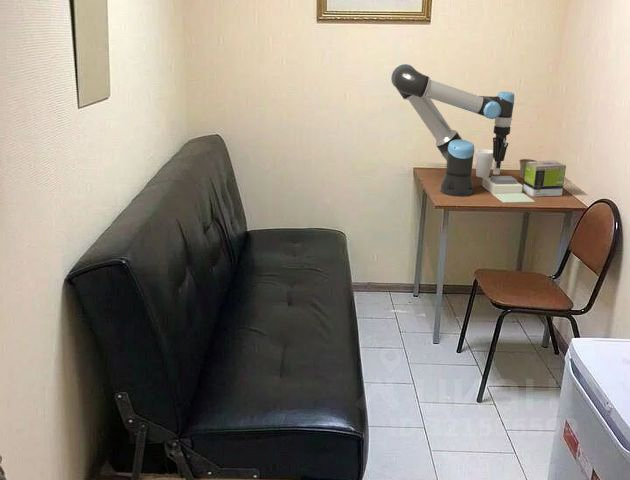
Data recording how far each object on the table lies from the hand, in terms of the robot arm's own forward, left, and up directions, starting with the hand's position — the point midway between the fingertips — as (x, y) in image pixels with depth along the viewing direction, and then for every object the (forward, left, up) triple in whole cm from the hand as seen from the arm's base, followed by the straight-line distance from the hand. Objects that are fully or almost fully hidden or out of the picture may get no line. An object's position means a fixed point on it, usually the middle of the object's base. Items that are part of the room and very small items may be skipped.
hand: (496, 173), depth 308 cm
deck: (0, -8, -6) cm, 10 cm away
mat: (0, -22, -6) cm, 22 cm away
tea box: (+17, -15, -6) cm, 23 cm away
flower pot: (+22, +12, -6) cm, 26 cm away
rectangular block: (0, -9, -2) cm, 9 cm away
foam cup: (0, +16, -6) cm, 17 cm away
